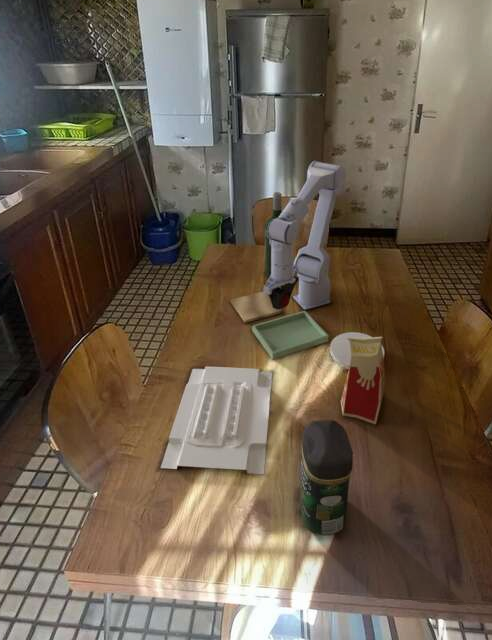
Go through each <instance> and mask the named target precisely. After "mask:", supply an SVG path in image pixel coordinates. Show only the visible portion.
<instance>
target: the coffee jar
mask: <svg viewBox="0 0 492 640" xmlns="http://www.w3.org/2000/svg"><path fill="white" fill-rule="evenodd" d="M353 455H354V451H353V449H352V444H351V442H350V439H349V435H348V434H347V430H346V429H345V428H344V427H343V425H342V424H340V423H339V422H338V421H336V420H335V419H319V420H313V421H311V422H309V424H307V425H306V426H305V428H304V430H303V432H302V438H301V457H300V458H301V461H300V478H299V479H300V482H299V507H300V513H301V516H302V521H303V523H304V526H305V528H306V529H307V531H309V532H310V533H312V534H314V535H319V536H328V535H333V534H336V533H339V532H341V531H342V530H343V529H344V527H345V525H346V521H347V510H348V499H349V488H350V478H351V474H352V472H353V467H354V456H353Z"/></svg>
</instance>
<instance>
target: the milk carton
mask: <svg viewBox="0 0 492 640" xmlns="http://www.w3.org/2000/svg"><path fill="white" fill-rule="evenodd" d="M347 339H348V340H350V348H351V362H350V366H349V370H348V369H347V374H346V379H345V383H344V386H343V390H342V394H341V398H340V406H341V412H342V416H344V417H349V418H350V417H351V418H356V419H359V420H362V421H365V422H367V423H370V424H373V425H377V421H378V417H379V414H380V410H381V406H382V401H383V395H384V389H385V382H386V381H385V380H386V379H385V357H384V358H383V352H382V347H383V344H382V339H383V336H374V337H373V336H372V338H347Z"/></svg>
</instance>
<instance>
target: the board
mask: <svg viewBox="0 0 492 640" xmlns="http://www.w3.org/2000/svg"><path fill="white" fill-rule="evenodd" d="M230 304H231V305H232V307H233V308H234V309H235V311H236V312H237V314H238V315H239V316H240V318H241V319H242V321H243V322H244V323H245V324H248V323H251V322H254V321H257V320H261V319H265V318H269V317H273V316H275V315H279V314H282V311H283V310H282V308H280V309H279V310H277V309H275V308H273V306H272V303H271V300H270V297H269V295H268V294H266V293H264V290H263V291H259V292H255V293H252V294H248V295H244V296H239V297H235V298H232V299H230Z"/></svg>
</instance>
